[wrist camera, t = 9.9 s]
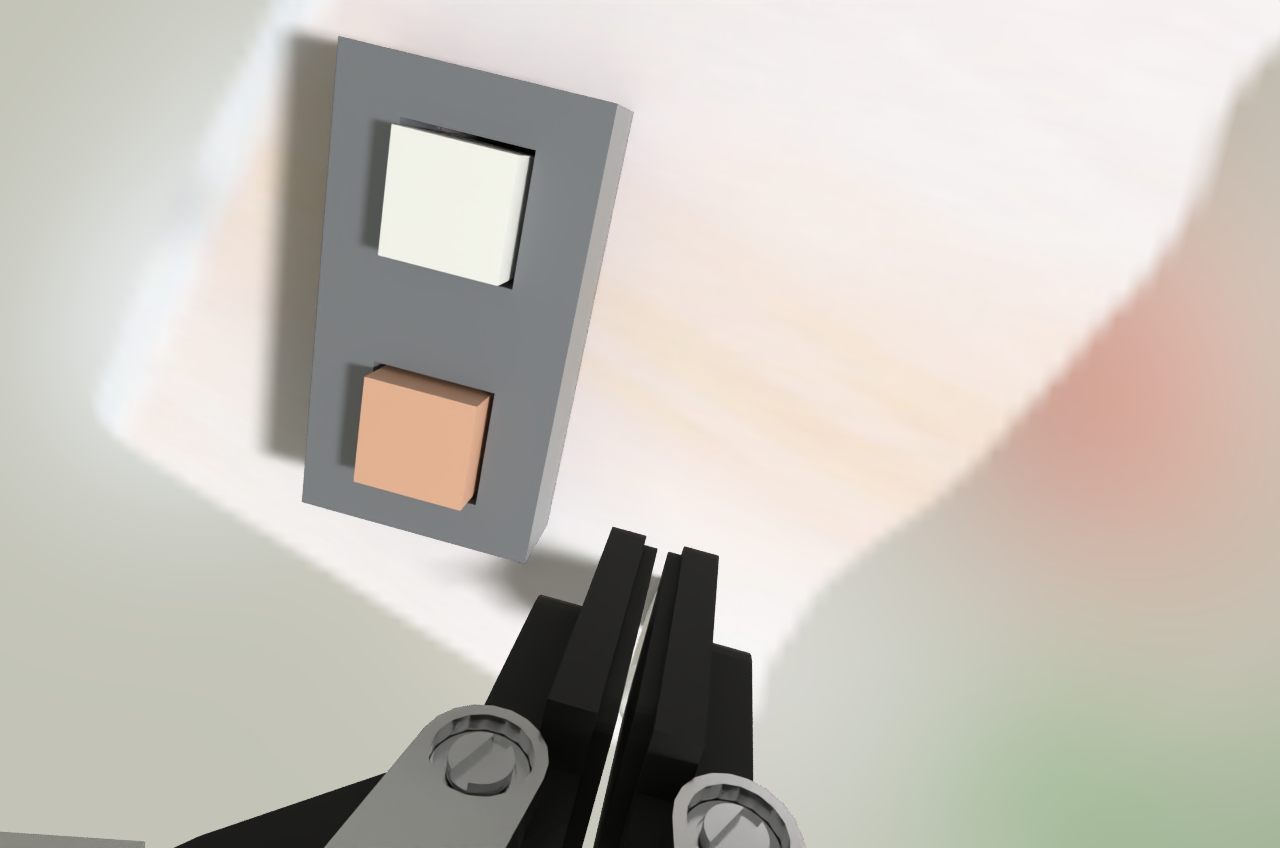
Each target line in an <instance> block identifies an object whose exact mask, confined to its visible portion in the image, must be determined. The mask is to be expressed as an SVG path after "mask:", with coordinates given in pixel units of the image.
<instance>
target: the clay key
mask: <svg viewBox="0 0 1280 848" xmlns="http://www.w3.org/2000/svg"><path fill="white" fill-rule="evenodd" d="M494 395H495V393H491V392H487V391H484V390H480V389H476V388H472V387H469V386H465V385H461V384H457V383H454V382H450V381H446V380H442V379H439V378H435V377H431V376H427V375H423V374H420V373H416V372H412V371H408V370H405V369H401V368H397V367H393V366H390V365H385V366H383V367H382V368H380V369H378V370H376V371H374V372H372V373H370V374H369V375H367V376H365V377H364V385H363V395H362V404H361V414H360V423H359V433H358V443H357V452H356V462H355V471H354V482H357V483H361V484H364V485H368V486H372V487H375V488H379V489H383V490H386V491H390V492H393V493H397V494H401V495H404V496H408V497H412V498H415V499H419V500H422V501H426V502H430V503H433V504H437V505H441V506H444V507H448V508H452V509H455V510H459V511H461V509H462V508H463V507H464V506H465V505H466V503H467V502H468V501H469V500H470V499H471V498H472V496H473V495H474V494H475V493H476V492H477V490H478V489H479V483H480V477H481V471H482V465H483V459H484V453H485V448H486V442H487V436H488V430H489V424H490V418H491V412H492V406H493V400H494Z"/></svg>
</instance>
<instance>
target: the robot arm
mask: <svg viewBox="0 0 1280 848" xmlns="http://www.w3.org/2000/svg"><path fill="white" fill-rule="evenodd" d="M645 540H646V536H645V535H641V534H637V533H634V532H630V531H626V530H623V529H619V528H615V527H612V530H611V532H610V535H609V538H608V540H607V543H606V545H605V548H604V551H603V553H602V556H601V559H600V561H599V564H598V567H597V569H596V572H595V574H594V577H593V580H592V582H591V585H590V588H589V590H588V593H587V596H586V598H585V601H584V604H583V606H579V605H576V604H572V603H569V602H565V601H561V600H558V599H554V598H551V597H547V596H544V595H539V596H538V598H537V600H536V601H535V603H534V605H533V607H532V609H531V611H530V613H529V615H528V617H527V619H526V622H525V624H524V626H523V628H522V630H521V632H520V634H519V636H518V638H517V640H516V642H515V644H514V646H513V648H512V650H511V652H510V654H509V656H508V658H507V660H506V662H505V664H504V666H503V668H502V670H501V672H500V674H499V676H498V678H497V680H496V682H495V684H494V686H493V688H492V691H491V693H490V695H489V697H488V699H487V701H486V703H485V705H469V706H463V707H458V708H454V709H452V710H450V711H447V712H445V713H443V714H441V715H439V716H437V717H436V718H435V719H434V720H432V721H431V722H430V723H429V724H428V725H427V726H425V727H424V728H423V730H422V731H421V732H420V733H419V734H418V736H417V737H416V738H415V739H414V740H413V742H412V743H411V744H410V745H409V746H408V748H407V749H406V750H405V751H404V752H403V754H402V755H401V756H400V757H399V759H398V760H397V761H396V762H395V763H394V765H393V766H392V767H391V768H390V769H389V770H388V772H387V773H383V774H381V775H378V776H375V777H372V778H369V779H366V780H363V781H360V782H357V783H354V784H351V785H348V786H345V787H342V788H339V789H337V790H334V791H331V792H328V793H325V794H322V795H319V796H316V797H313V798H310V799H307V800H304V801H301V802H298V803H296V804H293V805H290V806H287V807H284V808H281V809H278V810H275V811H272V812H269V813H266V814H263V815H261V816H257V817H254V818H251V819H249V820H246V821H242V822H240V823H237V824H234V825H231V826H228V827H225V828H222V829H219V830H216V831H213V832H210V833H207V834H204V835H201V836H199V837H196V838H194V839H192V840H190V841H188V842H186V843H184V844H181V845H179V846H177V847H175V848H582V845H583V842H584V838H585V834H586V831H587V827H588V823H589V820H590V816H591V813H592V809H593V805H594V801H595V798H596V794H597V791H598V787H599V784H600V780H601V776H602V773H603V769H604V765H605V762H606V758H607V754H608V751H609V747H610V744H611V740H612V736H613V732H614V729H615V725H616V721H617V717H618V713H619V709H620V705H621V701H622V697H623V692H624V688H625V684H626V680H627V676H628V671H629V667H630V663H631V659H632V654H633V650H634V646H635V642H636V638H637V633H638V629H639V625H640V621H641V617H642V612H643V608H644V604H645V600H646V595H647V591H648V587H649V583H650V579H651V574H652V570H653V566H654V562H655V558H656V553H657V548H653V547H649V546H646V545H644V544H645ZM718 562H719V556H718V555H714V554H710V553H707V552H703V551H699V550H696V549H692V548H688V547H685V546H684V548H683V551H682V554H681V555H679V554H675V553H671V552H668V555H667V558H666V561H665V565H664V569H663V572H662V576H661V579H660V583H659V587H658V590H657V594H656V597H655V601H654V605H653V608H652V612H651V615H650V619H649V623H648V626H647V630H646V633H645V637H644V641H643V644H642V648H641V651H640V655H639V659H638V662H637V666H636V669H635V673H634V677H633V680H632V684H631V687H630V691H629V695H628V699H627V703H626V706H625V711H624V715H623V719H622V723H621V728H620V732H619V737H618V741H617V745H616V750H615V754H614V759H613V763H612V767H611V772H610V776H609V781H608V785H607V790H606V794H605V798H604V803H603V807H602V811H601V816H600V821H599V825H598V829H597V834H596V838H595V842H594V847H593V848H806V847H805V843H804V839H803V836H802V834H801V832H800V829H799V827H798V824H797V822H796V820H795V818H794V817H793V816H792V815H791V813H790V812H789V810H788V809H787V807H786V806H785V805H784V803H782V802H781V801H780V800H779V799H778V798H776V797H775V796H774V795H773V794H772V793H771V792H769V790H767V789H766V788H763V787H762V786H760V785H758V784H756V783H755V782H753V717H752V658H751V655H750V653H747V652H744V651H740V650H736V649H733V648H729V647H726V646H722V645H719V644H715V643H713V630H714V617H715V603H716V589H717V576H718ZM0 848H145V842H143V841H128V840H113V839H98V838H84V837H69V836H54V835H39V834H25V833H10V832H0Z"/></svg>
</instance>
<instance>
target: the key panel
mask: <svg viewBox="0 0 1280 848" xmlns="http://www.w3.org/2000/svg"><path fill="white" fill-rule="evenodd" d="M632 117H633V112H632V111H630V110H628V109H626V108H625V107H623V106H621V105H619V104H616V103H612V102H608V101H604V100H600V99H595V98H591V97H587V96H583V95H579V94H575V93H571V92H567V91H563V90H558V89H554V88H550V87H546V86H542V85H538V84H534V83H530V82H526V81H521V80H517V79H513V78H509V77H505V76H501V75H497V74H493V73H488V72H484V71H480V70H476V69H472V68H468V67H464V66H460V65H456V64H451V63H447V62H443V61H439V60H435V59H431V58H427V57H423V56H419V55H414V54H410V53H406V52H402V51H398V50H394V49H390V48H386V47H381V46H377V45H373V44H369V43H365V42H361V41H357V40H353V39H349V38H344V37H340V36H338V48H337V60H336V73H335V86H334V99H333V112H332V124H331V137H330V150H329V163H328V175H327V188H326V201H325V214H324V226H323V239H322V252H321V265H320V278H319V290H318V303H317V316H316V329H315V341H314V354H313V367H312V380H311V392H310V405H309V418H308V431H307V444H306V456H305V469H304V482H303V495H302V502H304V503H308V504H311V505H315V506H318V507H322V508H326V509H329V510H333V511H336V512H340V513H344V514H347V515H351V516H354V517H358V518H362V519H365V520H369V521H372V522H376V523H380V524H383V525H387V526H390V527H394V528H398V529H401V530H405V531H408V532H412V533H415V534H419V535H423V536H426V537H430V538H433V539H437V540H441V541H444V542H448V543H451V544H455V545H459V546H462V547H466V548H469V549H473V550H477V551H480V552H484V553H487V554H491V555H495V556H498V557H502V558H505V559H509V560H513V561H516V562H520V563H523V564H525V563H526V561H527V559H528V557H529V556H530V554H531V552H532V550H533V549H534V547H535V545H536V543H537V542H538V540H539V538H540V536H541V535H542V533H543V531H544V529H545V527H546V526H547V523H548V518H549V514H550V509H551V504H552V499H553V494H554V490H555V485H556V480H557V475H558V471H559V466H560V461H561V456H562V451H563V447H564V442H565V437H566V432H567V428H568V423H569V418H570V413H571V408H572V404H573V399H574V394H575V389H576V385H577V380H578V375H579V370H580V366H581V361H582V356H583V351H584V346H585V342H586V337H587V332H588V327H589V323H590V318H591V313H592V308H593V303H594V299H595V294H596V289H597V284H598V280H599V275H600V270H601V265H602V260H603V256H604V251H605V246H606V241H607V237H608V232H609V227H610V222H611V218H612V213H613V208H614V203H615V198H616V194H617V189H618V184H619V179H620V175H621V170H622V165H623V160H624V155H625V151H626V146H627V141H628V136H629V132H630V127H631V122H632ZM392 124H397V125H404V126H411V127H419V128H426V129H432V130H436V131H440V129H441V127H444V128H448V129H452V130H456V131H460V132H464V133H468V134H472V135H476V136H480V137H484V138H488V139H492V140H496V141H500V142H504V143H508V144H512V145H516V146H520V147H525V148H529V149H533V150H536V153H535V159H534V165H533V171H532V177H531V183H530V188H529V194H528V200H527V206H526V212H525V218H524V224H523V230H522V236H521V241H520V247H519V253H518V259H517V265H516V271H515V277H514V279H511V280H509V281H507V282H505V283H503V284H501V285H498V286H495V285H492V284H488V283H484V282H480V281H476V280H472V279H468V278H464V277H461V276H457V275H453V274H449V273H445V272H441V271H437V270H433V269H430V268H426V267H422V266H418V265H414V264H410V263H406V262H403V261H399V260H395V259H391V258H387V257H383V256H379V255H378V249H379V240H380V230H381V221H382V211H383V202H384V192H385V182H386V173H387V163H388V154H389V144H390V135H391V125H392ZM385 365H390V366H393V367H397V368H401V369H405V370H408V371H412V372H416V373H420V374H423V375H427V376H431V377H435V378H439V379H442V380H446V381H450V382H454V383H457V384H461V385H465V386H469V387H472V388H476V389H480V390H484V391H487V392H491V393H495V395H494V400H493V406H492V412H491V418H490V424H489V430H488V436H487V442H486V448H485V453H484V459H483V465H482V471H481V477H480V483H479V489H478V490H477V492H476V493H475V494H474V495H473V496H472V498H471V499H470V500H469V501H468V502H467V503H466V505H465V506H464V507H463V508H462V509H461V511H459V510H455V509H452V508H448V507H444V506H441V505H437V504H433V503H430V502H426V501H422V500H419V499H415V498H412V497H408V496H404V495H401V494H397V493H393V492H390V491H386V490H383V489H379V488H375V487H372V486H368V485H364V484H361V483H357V482H354V471H355V462H356V452H357V443H358V433H359V423H360V414H361V404H362V395H363V385H364V377H365V376H367V375H369V374H370V373H372V372H374V371H376V370H378V369H380V368H382V367H383V366H385Z"/></svg>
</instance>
